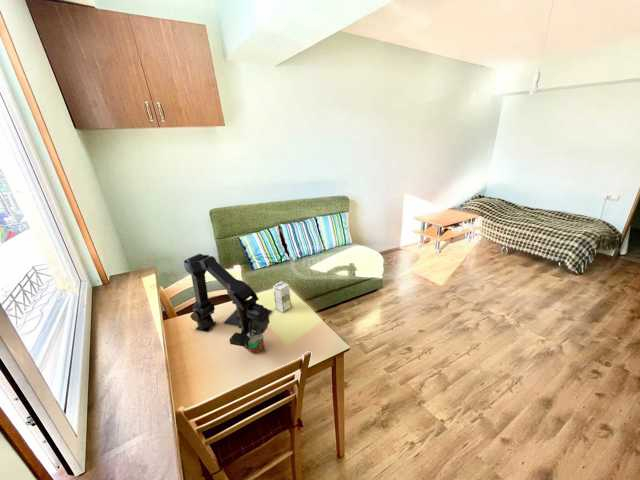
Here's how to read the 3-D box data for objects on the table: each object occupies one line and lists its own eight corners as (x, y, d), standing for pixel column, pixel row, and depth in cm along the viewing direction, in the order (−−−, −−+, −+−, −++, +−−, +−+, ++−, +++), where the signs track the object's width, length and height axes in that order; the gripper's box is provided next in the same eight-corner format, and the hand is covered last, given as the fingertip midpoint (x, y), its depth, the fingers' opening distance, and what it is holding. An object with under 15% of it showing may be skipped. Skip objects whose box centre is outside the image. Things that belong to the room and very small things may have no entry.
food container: (238, 345, 121) (234, 327, 117) (251, 337, 125) (247, 320, 120) (253, 360, 114) (249, 342, 109) (266, 351, 118) (263, 334, 113)
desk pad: (224, 323, 136) (224, 322, 135) (240, 306, 148) (240, 305, 147) (257, 329, 132) (257, 327, 131) (271, 311, 144) (271, 310, 143)
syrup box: (284, 303, 150) (280, 280, 143) (291, 307, 147) (288, 284, 140) (275, 308, 146) (272, 285, 139) (283, 312, 143) (280, 289, 136)
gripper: (251, 332, 102) (257, 362, 109) (274, 302, 118) (279, 331, 125) (224, 327, 104) (232, 357, 111) (251, 299, 120) (257, 327, 127)
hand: (252, 342), depth 119 cm, fingers closed on food container, 7 cm apart
